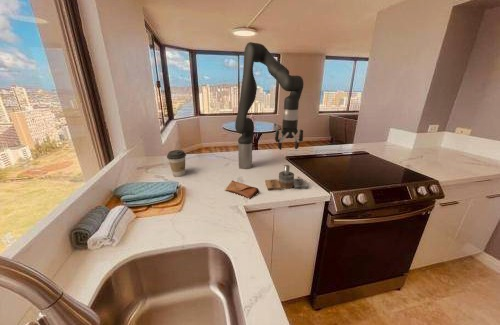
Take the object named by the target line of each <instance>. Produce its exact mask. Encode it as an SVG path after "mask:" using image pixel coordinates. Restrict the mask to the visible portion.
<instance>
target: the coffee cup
mask: <svg viewBox="0 0 500 325" xmlns="http://www.w3.org/2000/svg"><path fill="white" fill-rule="evenodd" d="M186 157H187V154H186V152H185V151H184V150H182V149H174V150H170V151H169V152H168V153H167V155H166V159H167V160H168V163H169V166H170V169H171V174H172V175H173V176H174V177H175V178H179V177H183V176H185V174H186Z"/></svg>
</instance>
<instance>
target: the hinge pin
mask: <svg viewBox="0 0 500 325" xmlns="http://www.w3.org/2000/svg"><path fill="white" fill-rule="evenodd" d="M283 168H284V169H283V171H284V175H285V176H289V172H290V168H291V167H290V165H289V164H284V167H283Z"/></svg>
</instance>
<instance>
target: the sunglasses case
mask: <svg viewBox="0 0 500 325" xmlns="http://www.w3.org/2000/svg"><path fill="white" fill-rule="evenodd" d="M224 191H225V192H228V193H231V194H234V193H235V195H237V194H238V196H240V195H241V196H240V197H243V196H244V197H243V198H245V197H246V199H248V198H249V199H248V200H252V199H253V198H254V197H255V196H257V195H258V194H259V193H260V190H259V188H257V187H255V186H251V185H248V184H245V183H241V182H239V181H234V180H231V181H230V183H229V184H228V186H227V187H226V188H225V189H224ZM257 193H258V194H257ZM256 194H257V195H256ZM253 196H254V197H253ZM252 197H253V198H252ZM251 198H252V199H251Z"/></svg>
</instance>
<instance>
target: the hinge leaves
mask: <svg viewBox="0 0 500 325" xmlns="http://www.w3.org/2000/svg"><path fill="white" fill-rule="evenodd" d="M264 182H265V186H266V190H267V191H282V189H285V190H287V189H293V188H294V190H306V189H307V190H308V189H309V185H308V184H307V183H306V181H305V180H304V179H303V178H302V177H301V178H295V173H294V172H293V171H289V176H285V175H284V170H283V171H279V173H278V179H277V178H274V179H265V181H264Z"/></svg>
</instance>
